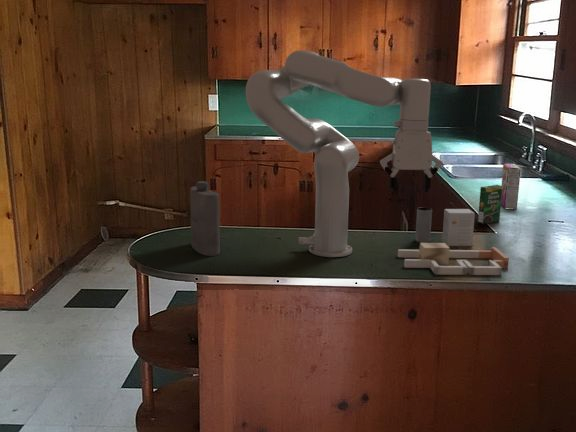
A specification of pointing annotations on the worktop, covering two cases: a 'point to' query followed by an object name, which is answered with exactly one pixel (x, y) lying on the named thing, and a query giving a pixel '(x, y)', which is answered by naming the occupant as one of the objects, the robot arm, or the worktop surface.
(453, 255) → the channel
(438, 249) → the beech block
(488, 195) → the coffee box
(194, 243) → the flask
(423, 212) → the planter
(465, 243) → the small box
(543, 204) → the worktop surface
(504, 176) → the candy bar box
